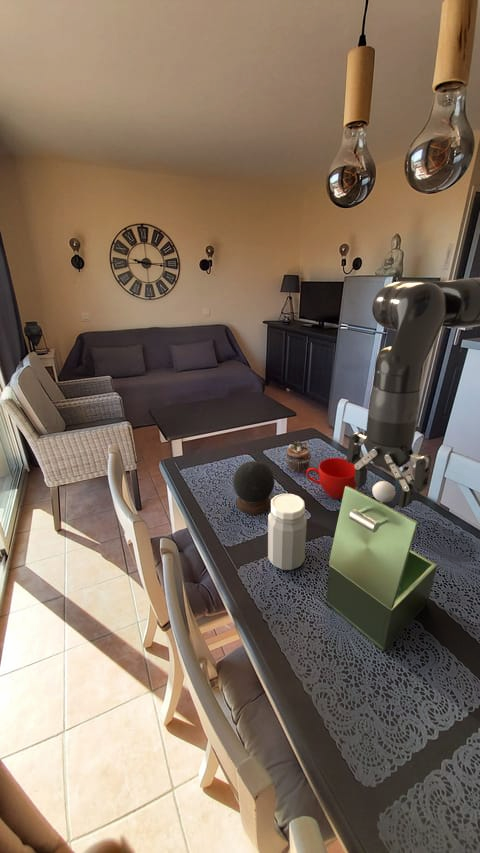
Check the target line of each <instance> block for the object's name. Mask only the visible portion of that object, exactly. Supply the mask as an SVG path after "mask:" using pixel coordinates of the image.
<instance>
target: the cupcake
mask: <svg viewBox="0 0 480 853" xmlns="http://www.w3.org/2000/svg"><path fill="white" fill-rule="evenodd" d="M285 459H286V465H287V468H288V469H289V471H291V472H294V473H303V472H307V470H308V469H309V468H310V463H311V460H312V455H311V453H310V449H309V444H307V443H306V442H300V441H299V440H295V441H294V442H292V443H291V444H289V445H288V448H286V452H285Z"/></svg>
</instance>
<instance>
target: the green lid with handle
mask: <svg viewBox="0 0 480 853" xmlns="http://www.w3.org/2000/svg"><path fill="white" fill-rule="evenodd" d="M418 525H419V521H417V520H416V519H413V518H412V517H409V516H407V515H405V514H404V513H402V512H400V511H398V510H395V509H394V508H392V507H390V506H388V505H386V504H385V503H383V504H382V503H381V502H380V501H378V500H377V499H374V498H372V497H370V496H368V495H367V494H364V493H363V492H360V491H359V490H357V489H356V488H355V489H353V488H351V487H349V486H345V490H344V494H343V498H341V504H340V508H339V514H338V518H337V523H336V528H335V531H334V537H333V541H332V546H331V551H330V556H329V560H328V565H329V566H330V565H331V566H332V567H334V568H335V569H336V570H338V571H339V572H340V573H342V574H343V575H344V576H346V577H347V578H349V579H350V580H351V581H353V582H354V583H355V584H357V585H358V586H359V587H361V588H362V589H363V590H365V591H366V592H368V593H369V594H370V595H372V596H373V597H374V598H376V599H377V600H378V601H380V602H381V603H383V604H384V605H385V606H387V607H388V608H389V609H392V608H393V607H394V603H395V600H396V596H397V593H398V590H399V586H400V583H401V579H402V576H403V573H404V569H405V566H406V563H407V559H408V556H409V552H410V549H411V548H412V545H413V542H414V539H415V535H416V532H417V529H418ZM411 550H412V549H411Z"/></svg>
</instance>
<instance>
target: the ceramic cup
mask: <svg viewBox="0 0 480 853" xmlns="http://www.w3.org/2000/svg"><path fill="white" fill-rule="evenodd" d="M346 459H347V458H341V457H331V458H325V459H323V460H321V462H320V463H319V464H318V469H317V468H315V467H308V470H306V471H305V472H306V473H305V474H306V477H307V478H308V479H309V480H310V481H311V482H313V483H314V484H315V483H316V484H318V485H320V487H321V488H322V489H323V491H324V492H325V493H326V494H327V496H329V497H331V498H333V499H337V500H338V499H339V500H340V499H341V500H342V499H343V494H344V490H345V486H349V487H351V488H353V489H355V490H356V487H357V486H356V483H355V470H356V469H355V467H354V465H353V464H352V463H348V462H347V460H346ZM310 471H311V472H315V473H316V474H317V476H318V478H319V480H318V479H315V478H313V477H312V476H310V474H309V472H310Z"/></svg>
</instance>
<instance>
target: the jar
mask: <svg viewBox="0 0 480 853" xmlns="http://www.w3.org/2000/svg"><path fill="white" fill-rule="evenodd" d="M270 500H271V507H270V512H269V514H268V516H267V517H268V518H267V559H268V561H270V563H271V564H272V565H273V566H274V567H275V568H278V569H280V570H281V571H292V570H295V569H298V568H300V567H301V566H302V564H303V563H304V561H305V559H306V542H307V524H308V522H307V521H308V520H307V515H306V513H305V512H306V511H305V508H306V506H305V505H306V504H305V500H304V499H303V498H301V496H300V495H296V494H293V493H280V494H277V495H275V496H274V497H273V498H272V499H270Z"/></svg>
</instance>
